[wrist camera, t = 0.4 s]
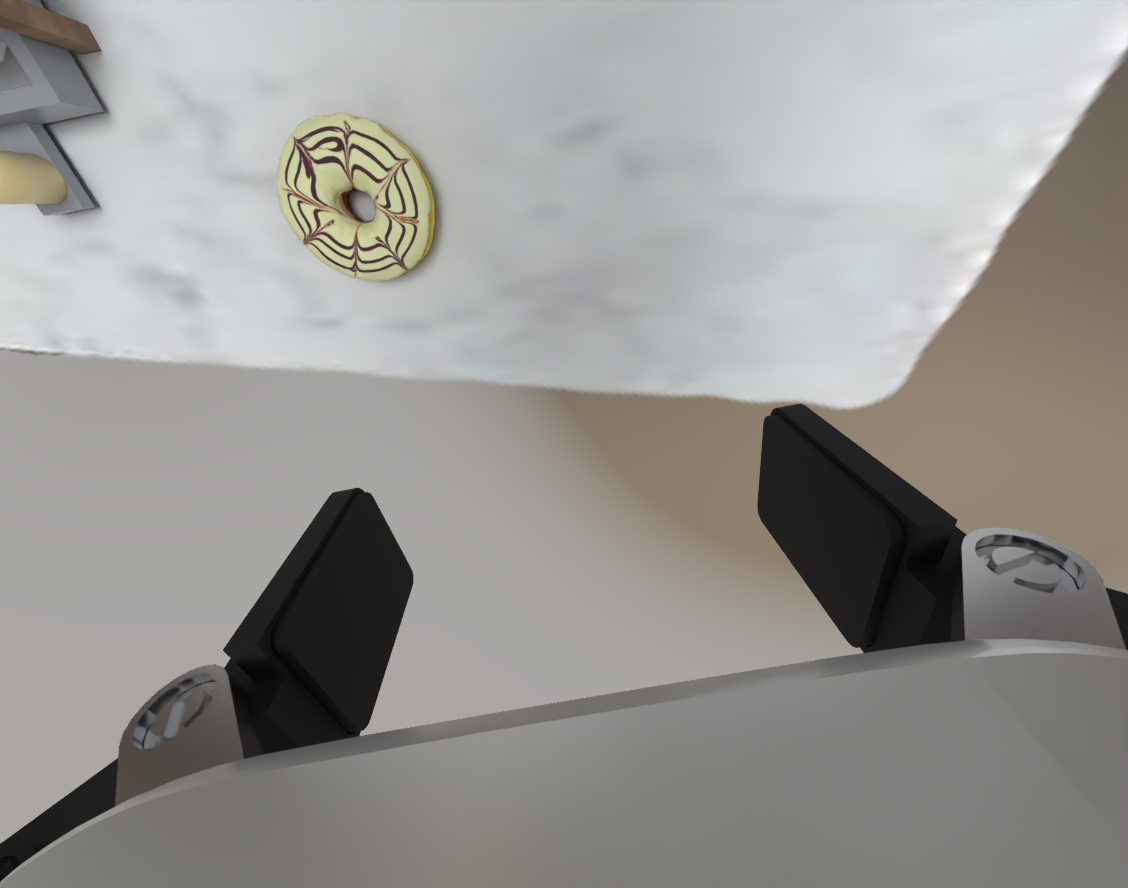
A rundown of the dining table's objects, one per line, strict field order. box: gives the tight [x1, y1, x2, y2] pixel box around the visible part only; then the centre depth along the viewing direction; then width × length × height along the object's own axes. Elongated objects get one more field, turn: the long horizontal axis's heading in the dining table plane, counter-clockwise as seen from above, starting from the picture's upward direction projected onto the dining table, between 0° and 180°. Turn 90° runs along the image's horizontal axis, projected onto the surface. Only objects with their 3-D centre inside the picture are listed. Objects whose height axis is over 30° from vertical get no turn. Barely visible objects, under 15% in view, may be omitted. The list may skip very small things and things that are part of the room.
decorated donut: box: [277, 112, 435, 281], centre depth 31 cm, size 10×11×4 cm
